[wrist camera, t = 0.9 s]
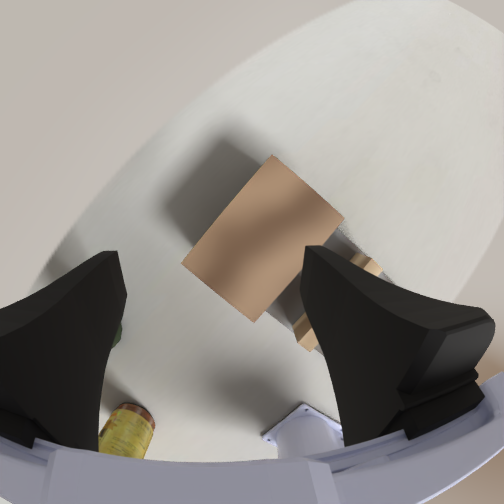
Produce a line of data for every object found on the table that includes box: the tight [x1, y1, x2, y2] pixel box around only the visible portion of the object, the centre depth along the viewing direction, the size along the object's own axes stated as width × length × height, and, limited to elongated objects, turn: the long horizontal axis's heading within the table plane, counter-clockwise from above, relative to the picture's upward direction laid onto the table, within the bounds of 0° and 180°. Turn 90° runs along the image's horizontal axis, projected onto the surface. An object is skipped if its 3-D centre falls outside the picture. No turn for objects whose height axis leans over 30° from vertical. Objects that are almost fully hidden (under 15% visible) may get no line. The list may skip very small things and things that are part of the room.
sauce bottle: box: [98, 403, 155, 459], centre depth 22 cm, size 7×6×20 cm
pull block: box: [292, 252, 383, 352], centre depth 26 cm, size 12×10×4 cm
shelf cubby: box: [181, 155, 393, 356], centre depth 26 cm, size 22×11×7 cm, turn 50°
